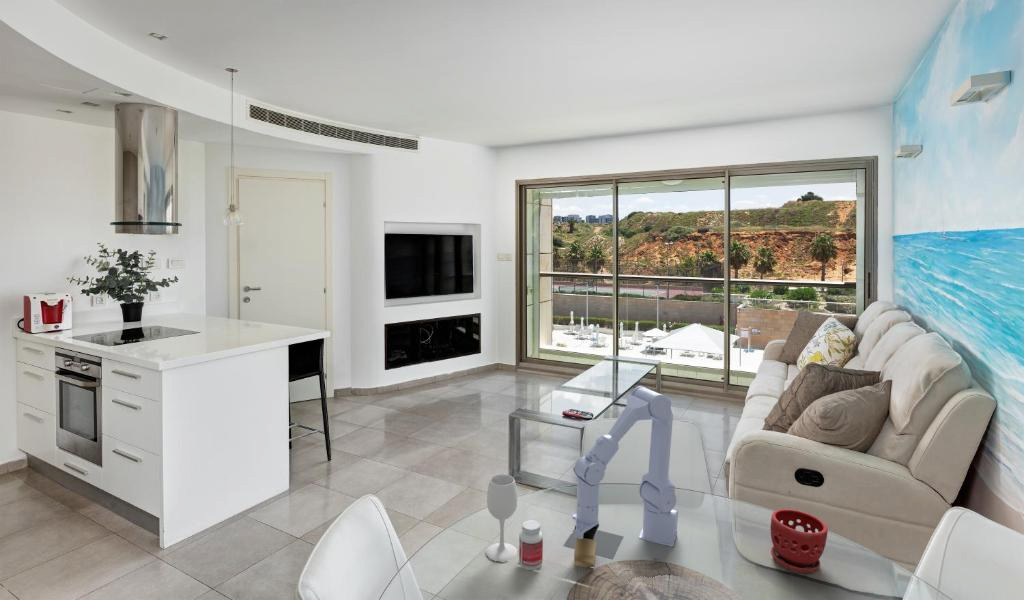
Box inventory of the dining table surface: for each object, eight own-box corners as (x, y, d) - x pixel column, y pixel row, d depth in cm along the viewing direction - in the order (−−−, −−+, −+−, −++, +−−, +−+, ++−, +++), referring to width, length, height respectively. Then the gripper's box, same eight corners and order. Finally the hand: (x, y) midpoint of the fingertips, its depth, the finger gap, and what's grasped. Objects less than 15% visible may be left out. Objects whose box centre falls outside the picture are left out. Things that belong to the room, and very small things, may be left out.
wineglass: (522, 548, 149) (523, 476, 146) (509, 566, 141) (510, 490, 138) (494, 540, 152) (495, 470, 150) (480, 557, 145) (480, 483, 142)
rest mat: (623, 537, 154) (623, 536, 154) (612, 560, 144) (612, 559, 144) (577, 525, 160) (577, 524, 160) (563, 547, 150) (563, 545, 150)
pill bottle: (547, 566, 141) (547, 526, 140) (527, 574, 138) (528, 533, 136) (533, 554, 146) (533, 515, 145) (514, 561, 143) (514, 522, 141)
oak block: (595, 553, 144) (595, 540, 142) (593, 569, 140) (593, 555, 138) (577, 550, 145) (576, 537, 143) (574, 566, 141) (574, 552, 139)
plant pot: (822, 584, 135) (826, 539, 133) (765, 566, 142) (768, 523, 140) (825, 558, 146) (828, 516, 144) (771, 542, 153) (774, 502, 151)
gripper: (581, 487, 152) (580, 532, 154) (564, 511, 139) (563, 560, 141) (606, 493, 149) (604, 539, 151) (590, 518, 136) (589, 568, 138)
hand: (586, 550), depth 146 cm, fingers closed
